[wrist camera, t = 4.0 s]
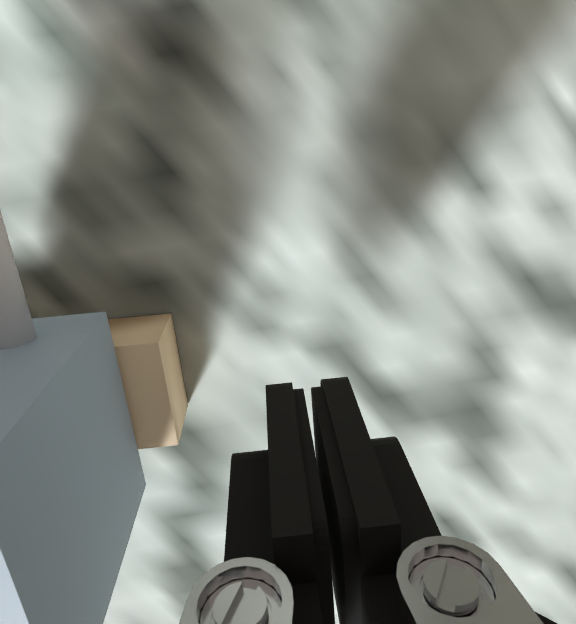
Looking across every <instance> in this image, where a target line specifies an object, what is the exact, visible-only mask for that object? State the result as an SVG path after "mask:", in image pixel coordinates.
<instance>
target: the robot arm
mask: <svg viewBox="0 0 576 624" xmlns="http://www.w3.org/2000/svg"><path fill="white" fill-rule="evenodd" d="M311 395H312V409H313V423H314V437H315V451H316V457H315V451H314V446H313V440H312V435H311V429H310V424H309V418H308V413H307V407H306V401H305V396H304V390H303V389H293V386H292V383H282V384H272V385H266V406H267V431H268V450H262V451H253V452H243V453H234V454H232V458H231V470H230V485H229V499H228V513H227V527H226V541H225V556H224V562H223V563H220V564H218V565H216V566H215V567H213V568H212V569H210V570H209V571H207V572H206V573H205V574H203V576H202V577H201V578H200V579H199V580H198V581H197V582H196V584H195V585H194V586H193V588H192V590H191V592H190V594H189V596H188V598H187V600H186V603H185V607H184V610H183V613H182V617H181V620H180V623H179V624H335V617H334V602H333V587H334V593H335V599H336V605H337V611H338V617H339V623H340V624H557V623H555V622H553V621H551V620H549V619H548V618H546V617H544V616H542V615H540V614H538V613H536V612H535V611H534V610H533V609H532V608H531V606H530V605H529V604H528V602H527V601H526V600H525V598H524V597H523V595H522V594H521V593H520V591H519V590H518V589H517V587H516V586H515V585H514V583H513V582H512V581H511V579H510V578H509V577H508V575H507V574H506V573H505V571H504V570H503V569H502V567H501V566H500V565H499V564H498V563H497V562H496V561H495V560H494V559H493V558H492V556H491V555H490V554H489V553H487V552H486V551H484V550H483V549H481V548H480V547H478V546H476V545H475V544H473V543H470V542H468V541H465V540H462V539H459V538H455V537H448V536H441V533H440V531H439V529H438V527H437V525H436V522H435V520H434V518H433V516H432V513H431V511H430V509H429V507H428V505H427V502H426V500H425V498H424V496H423V493H422V491H421V489H420V487H419V485H418V482H417V480H416V478H415V476H414V473H413V471H412V469H411V467H410V465H409V462H408V460H407V458H406V456H405V453H404V451H403V449H402V447H401V445H400V443H399V441H398V439H397V438H396V437H386V438H377V439H370V437H369V434H368V431H367V429H366V426H365V423H364V420H363V418H362V415H361V412H360V409H359V407H358V404H357V401H356V398H355V396H354V393H353V390H352V387H351V385H350V382H349V379H348V377H341V378H332V379H322V380H321V387H312V388H311ZM332 581H333V586H332Z"/></svg>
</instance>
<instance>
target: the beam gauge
mask: <svg viewBox="0 0 576 624" xmlns="http://www.w3.org/2000/svg"><path fill="white" fill-rule="evenodd" d="M108 322H109V327H110V331H111V335H112V340H113V344H114V348H115V353H116V357H117V361H118V366H119V370H120V374H121V379H122V383H123V387H124V392H125V396H126V400H127V405H128V409H129V413H130V418H131V422H132V426H133V431H134V435H135V440H136V444H137V448H138V449H144V448H154V447H164V446H173V445H178V443H179V439H180V435H181V431H182V427H183V423H184V419H185V415H186V411H187V407H188V403H187V397H186V392H185V386H184V380H183V375H182V369H181V364H180V358H179V353H178V347H177V342H176V336H175V330H174V325H173V319H172V314H171V313H169V314H159V315H148V316H138V317H128V318H118V319H108Z"/></svg>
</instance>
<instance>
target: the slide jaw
mask: <svg viewBox="0 0 576 624" xmlns="http://www.w3.org/2000/svg"><path fill="white" fill-rule="evenodd" d="M145 485H146V483H145V479H144V474H143V470H142V466H141V461H140V457H139V453H138V448H137V444H136V440H135V435H134V431H133V426H132V422H131V418H130V413H129V409H128V405H127V400H126V396H125V392H124V387H123V383H122V379H121V374H120V370H119V366H118V361H117V357H116V353H115V348H114V344H113V340H112V335H111V331H110V327H109V322H108V318H107V314H106V311H104V312H94V313H84V314H73V315H63V316H53V317H43V318H31V315H30V311H29V308H28V304H27V301H26V297H25V294H24V290H23V287H22V283H21V280H20V277H19V273H18V270H17V266H16V263H15V259H14V256H13V252H12V249H11V245H10V242H9V239H8V235H7V232H6V228H5V225H4V221H3V218H2V214H1V211H0V624H103V622H104V618H105V615H106V612H107V609H108V605H109V602H110V599H111V596H112V593H113V589H114V586H115V583H116V580H117V576H118V573H119V570H120V567H121V563H122V560H123V557H124V554H125V550H126V547H127V544H128V541H129V537H130V534H131V531H132V528H133V524H134V521H135V518H136V515H137V511H138V508H139V505H140V502H141V498H142V495H143V492H144V489H145Z"/></svg>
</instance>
